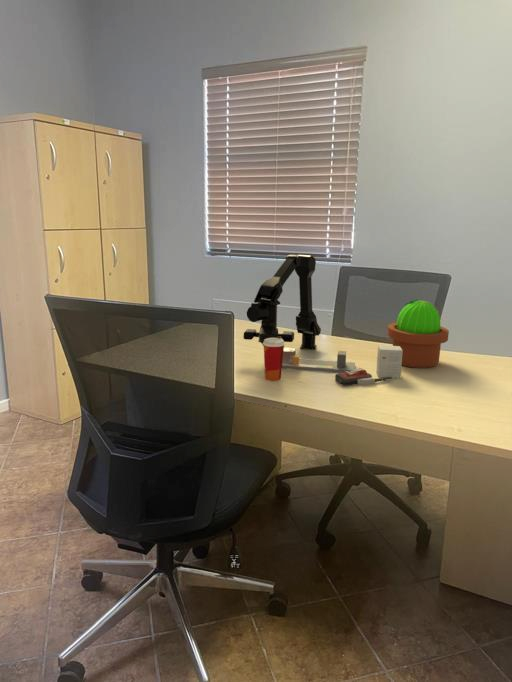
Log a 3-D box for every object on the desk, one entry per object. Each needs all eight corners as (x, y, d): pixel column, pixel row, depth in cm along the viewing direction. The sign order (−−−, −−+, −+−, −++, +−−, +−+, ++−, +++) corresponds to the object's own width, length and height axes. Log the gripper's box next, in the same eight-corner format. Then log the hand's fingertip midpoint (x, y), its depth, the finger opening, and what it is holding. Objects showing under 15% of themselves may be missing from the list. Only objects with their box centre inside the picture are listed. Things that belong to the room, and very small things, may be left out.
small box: (398, 373, 191) (400, 345, 188) (400, 378, 186) (403, 350, 183) (375, 372, 192) (378, 345, 189) (377, 377, 186) (380, 349, 184)
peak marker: (293, 362, 196) (294, 355, 195) (299, 363, 195) (299, 355, 195) (293, 364, 194) (293, 356, 193) (298, 364, 194) (298, 357, 193)
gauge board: (277, 360, 205) (277, 344, 204) (354, 365, 199) (355, 350, 198) (273, 367, 196) (273, 351, 194) (354, 373, 190) (355, 357, 188)
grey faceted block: (283, 358, 202) (283, 347, 201) (295, 359, 201) (295, 348, 200) (280, 364, 195) (280, 352, 194) (292, 365, 194) (293, 353, 193)
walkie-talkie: (344, 389, 175) (393, 382, 183) (345, 377, 174) (394, 370, 182) (331, 381, 183) (378, 375, 190) (331, 369, 181) (379, 363, 189)
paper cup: (272, 373, 189) (273, 336, 186) (288, 378, 184) (289, 340, 180) (257, 378, 184) (257, 339, 180) (273, 383, 179) (274, 344, 175)
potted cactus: (456, 367, 199) (464, 302, 193) (408, 372, 192) (414, 306, 185) (420, 351, 219) (426, 292, 213) (375, 356, 212) (379, 295, 205)
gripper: (240, 320, 190) (240, 361, 194) (291, 323, 187) (289, 365, 191) (246, 314, 201) (246, 353, 205) (295, 317, 197) (293, 356, 201)
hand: (268, 357), depth 200 cm, fingers closed
